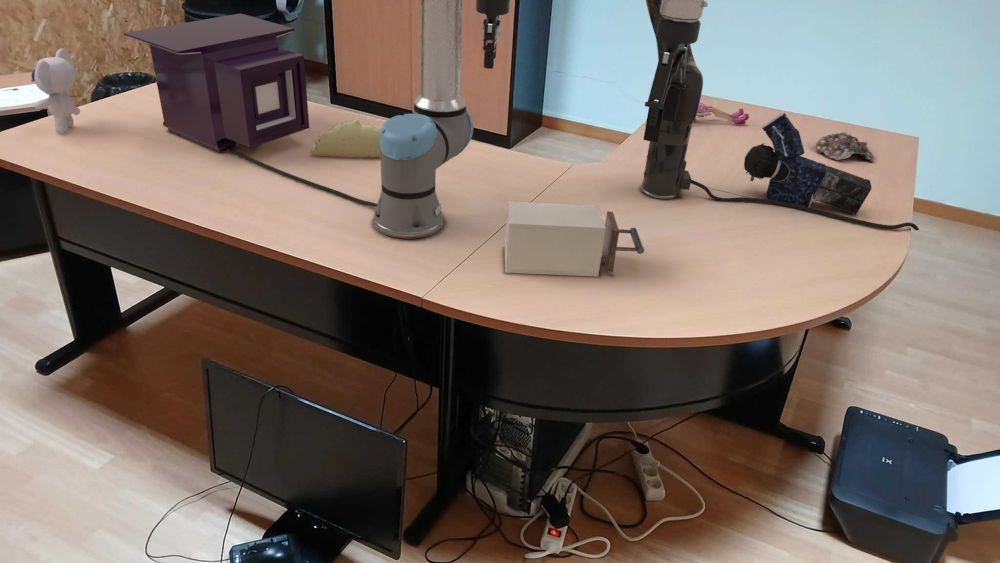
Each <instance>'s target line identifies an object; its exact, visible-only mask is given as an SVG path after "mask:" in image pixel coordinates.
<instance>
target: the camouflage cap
mask: <svg viewBox="0 0 1000 563" xmlns="http://www.w3.org/2000/svg"><path fill="white" fill-rule="evenodd" d="M815 150H816V151H817V152H818V153H824V155H825V156H827V157H828V158H830V159H832V160H835V161H839V160H840V161H841V160H844V159H848V158H851V157H852V155H853V154H854V155H857V154H859V155H860V156H861V158H863V159H865V160H866V161H871V162H874V160H875V159H874V158H875V155H874V154H873V153H872V152H871V151H870V149H869V147H868V142H867V141H859V139H858V137H855V136H853V135H852V134H851V133H849V132H848V131H846V132H844V131H843V132H836V133H830V134H827V135H826V136H822V137H820V138H819V140H818V141H817V142H816V144H815ZM873 157H874V158H873Z"/></svg>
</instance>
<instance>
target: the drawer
mask: <svg viewBox="0 0 1000 563" xmlns="http://www.w3.org/2000/svg"><path fill="white" fill-rule="evenodd" d="M604 224H605V227H606V230H605V236H604V243H603V249H602V256H601V258H602V259H603V263H604V267H605V270H606V272H608V273H609V272H610V273H613V271H614V265H615V259H616V253H617V252H634V253H635V252H636V253H637V254H638V255H643V254H644V252H645V249H644V245H643V243H642V240H641V238H640V235H639V232H638V230H637V228H636V227H631V228H629V229H624V228H623V229H621V228H619V227H618V224H617V220H616V217H615V215H614V211H611V210H610V211H608V210H607V211H606V215H605V221H604ZM620 234H629V235H630V237H631V241H632V243H633V245H634V247H630V246H629V247H625V246H618V241H619V236H620ZM601 263H602V261H601V262H600V264H601Z"/></svg>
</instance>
